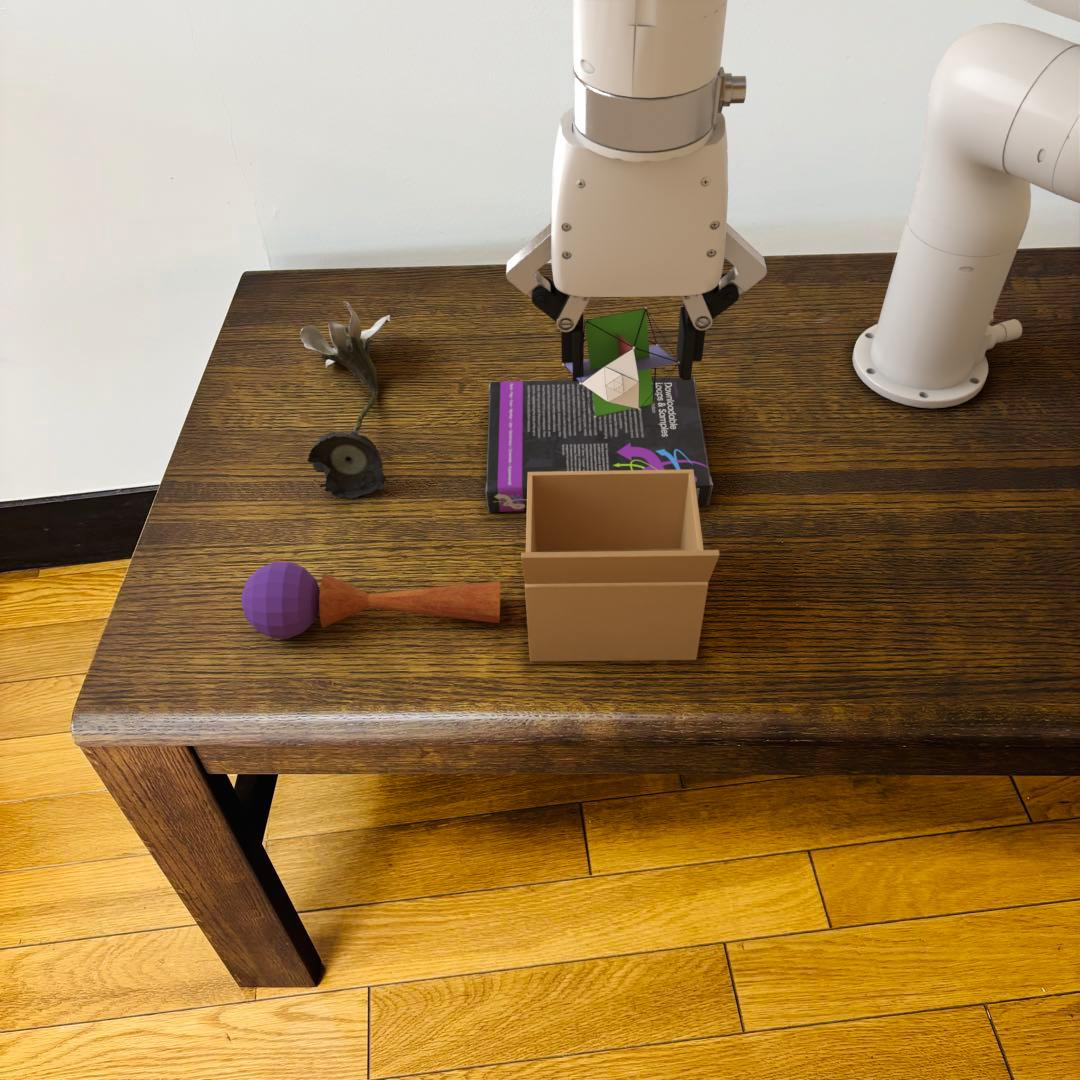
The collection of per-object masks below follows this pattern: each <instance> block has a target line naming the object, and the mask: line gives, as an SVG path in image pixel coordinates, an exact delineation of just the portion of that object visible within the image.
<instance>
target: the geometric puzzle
mask: <svg viewBox="0 0 1080 1080" xmlns="http://www.w3.org/2000/svg"><path fill="white" fill-rule="evenodd" d="M650 318H651V319H652V322H653V323H654V324H655V326H656V327H657V330H658V331H659V333H660V334H661V336H662V338H663V339H664V341H665V343H666V344H667V346H668V347H669V350H671V352H672V354H673V355H671V354H670V353H669V352H667V351H666V350H665V349H663V348H662V347H661V346H660V345H659V343H658V342H657V338H656V335H655V332H654V329H653V327H652V323H651V319H650ZM648 322H649V326H650V328H651V331H652V335H653V338H654V341H655V342H653V341H651V340H649V328H648ZM583 326H584V335H585V333H586V338H584V343H585V342H587V343H586V344H587V352H588V353H587V354H588V359H584V360H583V361H582V362H583V377H580V378H576V379H577V380H578V382H579V384H580V385H581V384H582V385H583V386H585V387H586V388H588V389H589V390H591V391H592V392H593V399H594V408H595V413H594V411H592V412H593V414H594V415H595V416H594V417H595V418H596V417H598V416H603V415H606V414H607V415H609V414H611V413H613V414H615V413H616V412H618V413H621V412H620V411H624V412H627V411H625V410H629V409H634V408H635V409H636V410H640V409H642V408H641V407H643V406H646V407H647V406H648V405H649V406H650V405H655V404H654V403H655V402H654V394H655V378H657V376H656V375H657V368H659V367H664V366H670V365H674V364H676V365H675V366H674V367H673V370H671V371H670V372H668V374H667V376H666V377H664V378H665V379H666V378H670V377H672V375H673V374H674V371H675V370H676V368H678V364H680V362H679V361H678V360H677V357H676V355H675V353H674V352H673V351H672V348H671V346H670V345H669V343H668V342H667V339H665V337H664V335H663V334H662V332H661V330H660V328H659V327H658V325H657V324H656V322H655V321H654V319H653V317H652V316H651V314H650V312H649V311H648V307H647V306H644V307H643V308H639V309H633V310H629V311H625V312H618V313H613V314H609V315H603V316H600V317H594V318H590V319H587V318H583ZM650 343H651V344H652V345H650ZM562 367H564V368H565V370H566V371H567V373H568V375H569V376H570V378H571V380H573V364H572V363H562ZM652 369H654V374H653V375H654V376H653V378H654V389H653V392H652V379H651V378H652ZM669 375H670V376H669ZM581 376H582V365H581ZM665 379H664V380H665ZM664 380H663V381H664ZM668 380H669V379H668ZM663 381H662V382H663ZM574 382H575V381H574ZM666 383H667V382H666ZM575 384H576V383H575ZM582 385H581V386H582ZM660 385H661V384H660ZM660 385H659V386H660ZM665 385H666V384H665ZM665 385H664V386H665ZM576 386H577V385H576ZM659 386H658V387H659ZM577 387H578V386H577ZM658 387H657V388H658ZM582 388H583V387H582ZM657 388H656V389H657ZM663 388H664V387H663ZM578 389H579V388H578ZM662 390H663V389H662ZM662 390H661V391H662ZM579 391H580V390H579ZM583 391H584V389H583ZM580 392H581V391H580ZM584 393H585V391H584ZM660 393H661V392H660ZM581 394H582V393H581ZM585 395H586V393H585ZM582 396H583V395H582ZM658 396H659V395H658ZM583 397H584V396H583ZM586 397H587V396H586ZM657 398H658V397H657ZM657 398H656V399H657ZM584 399H585V398H584ZM587 399H588V398H587ZM585 400H586V399H585ZM655 401H656V400H655ZM586 402H587V401H586ZM588 402H589V400H588ZM587 404H588V403H587ZM589 404H590V402H589ZM589 404H588V405H589ZM590 406H591V405H590ZM590 406H589V407H590ZM639 407H640V408H639ZM591 408H592V407H591ZM591 408H590V409H591ZM643 408H644V407H643ZM591 410H593V409H591ZM630 411H633V410H630Z"/></svg>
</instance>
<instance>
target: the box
mask: <svg viewBox="0 0 1080 1080" xmlns="http://www.w3.org/2000/svg"><path fill="white" fill-rule="evenodd" d="M669 377H670V376H669ZM669 377H667V378H666V377H656V378H655V394H654V402H655V403H654V404H655V405H650V406H649V405H648V406H647V407H646V406H643V407H644V408H643V407H641V408H642V409H640V410H636V409H635V408H634V409H629V410H625V411H627V412H624V411H620V412H621V413H618V412H616V413H615V414H613V413H611V414H609V415H607V414H606V415H603V416H598V417H596V418H595V417H594V416H595V415H594V414H593V412H592V411H594V413H595V408H594V399H593V392H592V391H591V390H589V389H588V388H586V387H585V386H583V385H582V384H581V385H582V386H581V385H580V384H579V382H578V381H575V382H574V381H573V379H547V380H512V381H507V380H506V381H490V382H489V384H488V420H487V422H488V423H487V449H486V453H487V454H486V477H485V478H486V481H485V489H484V494H485V502H486V503H485V506H486V509H487V512H488V513H511V512H527V479H528V472H554V471H621V470H688V469H693V470H694V477H695V485H696V493H697V500H698V507H700V506H701V507H704V506H705V507H707V506H709V505H710V501H711V498H712V497H711V496H712V491H713V486H714V483H713V479H712V475H711V470H710V464H709V458H708V452H707V445H706V440H705V434H704V428H703V422H702V415H701V410H700V404H699V398H698V397H699V396H698V392H697V383H696V378H695V377H694V376H691V380H682V378H679V376H674V377H672V376H671V377H670V378H669ZM665 378H666V379H665ZM651 379H652V392H653V389H654V377H651ZM664 379H665V380H664ZM668 379H669V380H668ZM663 380H664V381H663ZM662 381H663V382H662ZM666 382H667V383H666ZM575 383H576V384H575ZM660 384H661V385H660ZM665 384H666V385H665ZM576 385H577V386H578V387H577V386H576ZM659 385H660V386H659ZM664 385H665V386H664ZM658 386H659V387H658ZM582 387H583V388H582ZM657 387H658V388H657ZM663 387H664V388H663ZM578 388H579V389H578ZM656 388H657V389H656ZM583 389H584V391H585V393H586V395H585V393H584V391H583ZM662 389H663V390H662ZM579 390H580V391H581V392H580V391H579ZM661 390H662V391H661ZM660 392H661V393H660ZM581 393H582V394H581ZM582 395H583V396H584V397H583V396H582ZM658 395H659V396H658ZM586 396H587V397H586ZM657 397H658V398H657ZM584 398H585V399H586V400H585V399H584ZM587 398H588V399H587ZM656 398H657V399H656ZM588 400H589V402H590V404H589V402H588ZM655 400H656V401H655ZM586 401H587V402H586ZM587 403H588V404H589V405H588V404H587ZM590 405H591V406H590ZM589 406H590V407H589ZM591 407H592V408H591ZM590 408H591V409H593V410H591V409H590ZM639 408H640V407H639ZM630 410H633V411H630Z"/></svg>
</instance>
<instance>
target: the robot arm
mask: <svg viewBox="0 0 1080 1080" xmlns="http://www.w3.org/2000/svg"><path fill="white" fill-rule="evenodd" d="M1023 1H1024V2H1026V3H1028V4H1030V5H1031V6H1034V7H1037V8H1039V9H1041V10H1044V11H1046V12H1049V13H1051V14H1055V15H1058V16H1061V17H1064V18H1066V19H1069V20H1072V21H1075V22H1078V23H1080V0H1023ZM727 9H728V0H572V108H570V109H568V110H567V111H565V112H564V113H563V114H562V115H561V117H560V119H559V125H558V129H557V132H556V133H557V134H556V139H555V146H554V153H553V154H554V155H553V163H552V175H551V203H550V207H551V208H550V223H549V224H548V225H547V226H545V227H544V229H543V230H541V231H540V232H539V233H538V234H537V235H536V236H534V237H533V238H532V239H531V240H529V242H527V243H526V244H524V246H523V247H522V248H521V249H520V250H519V251H517V252H516V253H515V254H514V255H512V257H510V259H508V260H507V262H506V269H505V270H506V271H505V278H506V280H507V282H509V283H510V284H512V286H513V287H515V288H516V289H517V290H518V291H520V292H521V293H522V294H523V295H524V296H527V297H528V298H530V300H531V303H532V304H533V305H534V306H535V307H536V308H537V309H539V310H540V311H541V312H542V313H544V314H545V315H546V316H547V317H549V318H550V319H552V321H554V322H555V324H556V328H557V330H559V331H560V332H561V335H560V336H561V337H560V339H561V364H564V363H565V364H568V363H572V364H573V375H572V378H573V379H572V380H573V381H578V380H577V379H576V378H580V377H583V362H582V361H583V360H585V359H584V354H585V353H584V347H585V346H584V345H585V342H584V340H585V334H584V324H583V323H584V311H585V309H586V308H587V306H588V304H589V302H590V300H591V299H592V298H642V297H643V298H645V297H646V298H647V297H648V298H649V297H651V298H652V297H680V298H681V301H682V303H683V306H680V308H679V319H678V329H677V331H678V332H677V340H676V342H677V343H676V358H677V359H676V360H678V361H679V362H680V364H678V363H677V364H678V365H677V371H678V377H679V378H682V380H691V377H692V372H693V363H694V362H702V361H703V353H704V346H705V337H706V330H707V331H708V330H709V329H710V328H711V327H712V325H713V320H714V319H715V318H717V317H718V316H720V315H721V314H722V313H723V312H725V311H726V310H728V309H729V308H730V307H732V306H733V305H734V304H736V303H737V302H738V300H739V298H740V296H741V295H742V294H744V293H747V292H748V291H749V290H750V289H752V288H753V287H754V286H755V285H757V284H758V283H759V282H760V281H762V280H763V279H764V278H765V277H766V276H767V274H768V269H767V265H766V264H767V263H766V261H765V257H764V256H763V255H762V254H761V253H760V252H759V251H758V250H757V249H756V248H755V247H754V246H753V245H751V244H750V243H749V242H748V241H747V240H746V239H745V238H744V237H743V236H742V235H740V234H739V233H738V231H736V230H735V229H734V228H733V227H732V226H731V225H729V223H727V222H728V204H729V203H728V201H729V178H728V175H729V173H728V172H729V171H728V168H729V166H728V165H729V156H728V149H729V148H728V135H727V133H728V132H727V123H726V119H725V116H724V114H723V112H722V111H723V108H726V107H728V108H729V107H730V106H731V104H744V103H745V101H746V97H747V96H746V95H747V76H746V75H732V73H731V72H726V73H725V69H724V66H721V65H722V64H721V62H722V55H723V45H724V37H725V27H726V17H727ZM924 123H925V124H924V138H923V148H922V156H921V162H920V166H919V172H918V177H917V180H916V183H915V184H916V185H915V188H914V189H915V190H914V193H913V197H912V200H911V204H910V206H909V207H910V208H909V210H908V211H909V212H908V215H907V217H906V221H905V225H904V228H903V232H902V235H901V239H900V243H899V246H898V250H897V254H896V257H895V260H894V264H893V268H892V271H891V275H890V278H889V282H888V286H887V289H886V292H885V297H884V300H883V304H882V307H881V310H880V314H879V317H878V321H877V323H876V324H874V325H872V326H870V327H868V328H867V329H866V330H864V331H863V332H862V333H861V334H860V335H859V337H858V338H857V340H856V341H855V344H854V348H853V352H852V358H851V359H852V365H853V368H854V370H855V372H856V374H857V376H858V377H859V379H860V380H861V381H862V382H863V383H864V384H865V385H866V386H867V387H868V388H870V390H872V391H874V392H875V393H877V394H878V395H880V396H881V397H883V398H886V399H888V400H890V401H892V402H895V403H898V404H902V405H904V406H907V407H908V406H909V407H915V408H921V409H941V408H942V409H943V408H949V407H954V406H958V405H961V404H963V403H966V402H968V401H969V400H971V399H973V398H975V396H977V395H978V394H979V392H980V391H981V390H982V389H983V387H984V385H985V383H986V380H987V377H988V375H989V363H988V359H987V356H986V352H987V351H988V350H992V349H993V348H994V347H995V345H996V344H999V343H1001V344H1003V343H1007V342H1010V341H1014V340H1018V339H1019V338H1021V336H1022V334H1023V327H1022V323H1021V322H1020V321H1019V319H1015V318H1014V319H1010V320H1005V321H1002V322H999V323H996V324H995V325H990V324H993V322H994V319H995V317H994V312H995V309H996V306H997V304H998V302H999V298H1000V296H1001V293H1002V291H1003V288H1004V285H1005V282H1006V280H1007V277H1008V275H1009V273H1010V270H1011V267H1012V264H1013V262H1014V259H1015V257H1016V254H1017V251H1018V248H1019V246H1020V244H1021V241H1022V240H1023V236H1024V233H1025V231H1026V228H1027V226H1028V222H1029V218H1030V213H1031V207H1032V206H1031V205H1032V191H1031V185H1034V186H1036V187H1038V188H1040V189H1042V190H1045V191H1047V192H1049V193H1052V194H1053V195H1056V196H1060V197H1061V198H1063V199H1067V200H1068V201H1071V202H1074V203H1077V204H1080V44H1079V43H1076V42H1074V41H1070V40H1067V39H1064V38H1062V37H1058V36H1055V35H1053V34H1050V33H1047V32H1044V31H1042V30H1038V29H1035V28H1033V27H1028V26H1024V25H1021V24H1015V23H1007V22H1006V23H1005V22H992V23H985V24H982V25H979V26H976V27H973V28H972V29H969V30H968V31H966V32H964V33H962V34H961V35H960V36H959V37H957V39H955V40H954V41H953V42H952V44H950V45H949V47H948V48H947V49H946V51H945V52H944V54H943V55H942V56H941V58H940V60H939V62H938V64H937V65H936V68H935V70H934V73H933V76H932V78H931V82H930V86H929V90H928V93H927V100H926V107H925V122H924ZM725 260H726V261H727V262H728V263H730V265H732V266H733V267H731V268H730V270H729V272H725V273H723V270H724V264H725ZM550 261H551V271H552V279H551V278H549V277H548V276H545V275H542V274H541V272H540V271H539V270H540V269H542V268H543V267H544V266H545V265H546V264H547V263H548V262H550ZM581 365H582V376H581Z"/></svg>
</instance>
